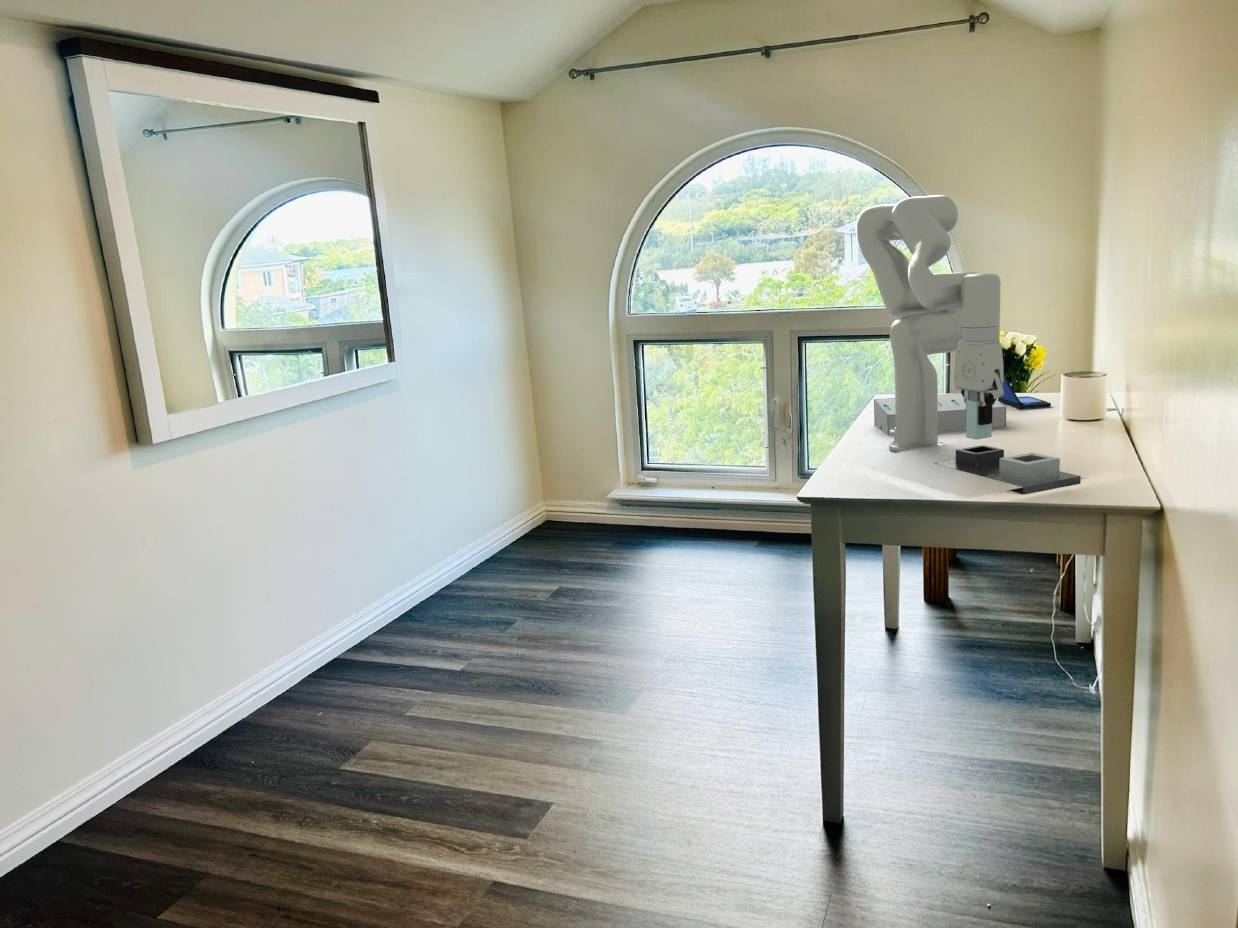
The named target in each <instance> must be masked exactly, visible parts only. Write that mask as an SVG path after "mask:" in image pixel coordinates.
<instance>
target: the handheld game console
mask: <svg viewBox="0 0 1238 928" xmlns="http://www.w3.org/2000/svg"><path fill="white" fill-rule="evenodd" d="M1002 387H1003V390H1004V395H1003V396H1001V397H999V398H997V400H998V401H999V402H1001V403H1002V404H1003V405H1005V406H1010V407H1011V408H1014V409H1016V410H1018V411H1022V410H1034V409H1036V410H1037V409H1047V408H1051V406H1052V404H1051V402H1048V401H1046V400H1042V399H1039V398H1036V397H1033V396H1032V397H1031V396H1026V395H1025V396H1017V394H1016V392H1015V391H1014V389H1013V388H1012V386H1011V384H1010V383H1009V381H1008V380H1007V379H1006V378H1003V386H1002Z"/></svg>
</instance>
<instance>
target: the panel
mask: <svg viewBox="0 0 1238 928" xmlns="http://www.w3.org/2000/svg"><path fill="white" fill-rule="evenodd" d="M1060 461H1061V458H1059V457H1054V456H1051V455H1046V454H1042V453H1041V454H1040V453H1035V452H1028V453H1022V454H1017V455H1011V456H1005V449H1002V448H998V447H993V446H989V445H984V444H981V445H975V446H970V447H969V446H968V447H963V448H957V449H955V459H951V460H945V461H940V462H934V463H933V465H938V466H941V467H945V468H949V469H953V470H957V471H960V472H965V473H967V474H970V475H971V474H972V475H975V476H980V477H984V478H987V479H992V480H993V481H994V480H995V481H999V482H1002V483H1007V484H1009V485H1014V486H1018V488H1017V487H1016V488H1012V489H1008V490H1007V491H1009V492H1013V493H1016V494H1020V495H1023V496H1024V495H1029V494H1033V493H1038V492H1044V491H1049V490H1054V489H1060V488H1065V487H1070V486H1076V485H1080V484H1081V482H1082V480H1081V478H1082V476H1081V475H1077V474H1074V473H1068V472H1065V471H1061V470H1060V469H1061V467H1060V466H1061V462H1060Z"/></svg>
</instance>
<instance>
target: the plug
mask: <svg viewBox="0 0 1238 928" xmlns="http://www.w3.org/2000/svg"><path fill="white" fill-rule="evenodd" d="M988 395H989V393H988V394H986V397H987V396H988ZM978 406H981V404H980V392H976V391H970V390H969V400H966V430H965V434H966V435H965V437H966V438H968V439H972V440H982V439H988V438H992V434H993V433H992V432H993V431H992V429H993V428H992V423H991V424H986V425H979V424H978Z"/></svg>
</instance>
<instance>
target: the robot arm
mask: <svg viewBox="0 0 1238 928" xmlns="http://www.w3.org/2000/svg"><path fill="white" fill-rule="evenodd" d="M958 218H959V212H958V208H957V205H956V203H955V202H954V200H953V199H952V198H951V197H949V196H947V195H943V194H942V195H941V194H937V195H923V196H922V195H921V196H911V197H907V198H906V197H905V198H904V199H901V200H899V201H898V202H897V203H887V204H879V205H874V206H870V207H868V208H866V209H864V210H862V212H860V213H859V215H858V217H857V219H856V223H855V236H856V243H857V245H858V248H859V251H860V252H861V255H862V257H863V258H864V260H865V261H866V263H867V265H868V266H869V268H870V269H871V271H872V273H873V277H874V280H875V282H876V285H877V289H878V291H879V293H880V296H881V299H882V301H883V304H884V306H885V309H886V311H887V312H888V314H890V315H892V316H893V317H898V318H897V319H896V320H894V321H893V323H892V324H891V327H890V330H889V341H890V342H889V343H890V345H891V350H892V356H893V366H894V395H895V397H894V398H895V417H896V427H895V428H894V430H890V431H889V434H890V435H889V436H893V441H891V442H890V443H889V444H888V447H889V450H891V451H892V452H896V453H903V452H908V451H914V450H921V449H926V448H932V447H938V446H944V445H945V442H944V441H942V440H939V438H938V437H939V436H938V434H939V432H938V395H939V394H938V389H939V388H938V385H939V384H938V372H937V369H936V367H935V366H934V364H933V363H932V362H931V360H930V359H929V355H935V354H936V355H937V354H938V355H939V354H945V353H952V352H955V359H954V369H953V371H954V372H953V373H954V375H953V382H954V383H953V384H954V386H955V388H956V390H957V391H959V392H960V393H961V394H962V396H963V397H964V403H966V400H969V390H970V391H976V392H980V404H981V406H978V424H979V425H986V424H991V423H992V405H994V404H995V401H996V400H998V398H999V397H1001V396H1003V395H1004V390H1003V387H1002V386H1003V378H1004V376H1005V375H1004V356H1003V348H1002V343H1001V341H1000V340H1001V339H1000V335H1001V333H1000V332H1001V331H1000V330H1001V327H1000V326H1001V277H1000V276H999V275H998V274H996V273H992V272H991V273H989V272H988V273H986V272H985V273H982V272H978V271H963V272H961V271H960V272H959V271H958V272H947V273H934V272H932V271H931V270H930V268H929V267H931V266H932V265H934V264H936V263H938V262H939V261H941V260H942V259H943V258H944V257H945V256H946V255H947V254H948V253H949V251H950V249H951V244H952V240H951V239H952V238H951V237H950V234H949V232H951V231H953V229H954V228H955V227H956V225H957V222H958ZM890 241H903V242H904V244H905V246H906V247H907V249H908V250H909V252H910V253H911V258H910V259H909V258H907V255H905V253H904V252H902V251H901V250H900V249H899V248H898V247H897V246H895V245H894V244H892V243H891V242H890ZM1004 379H1005V378H1004ZM988 393H989V395H988V396H987V397H986V394H988Z"/></svg>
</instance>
